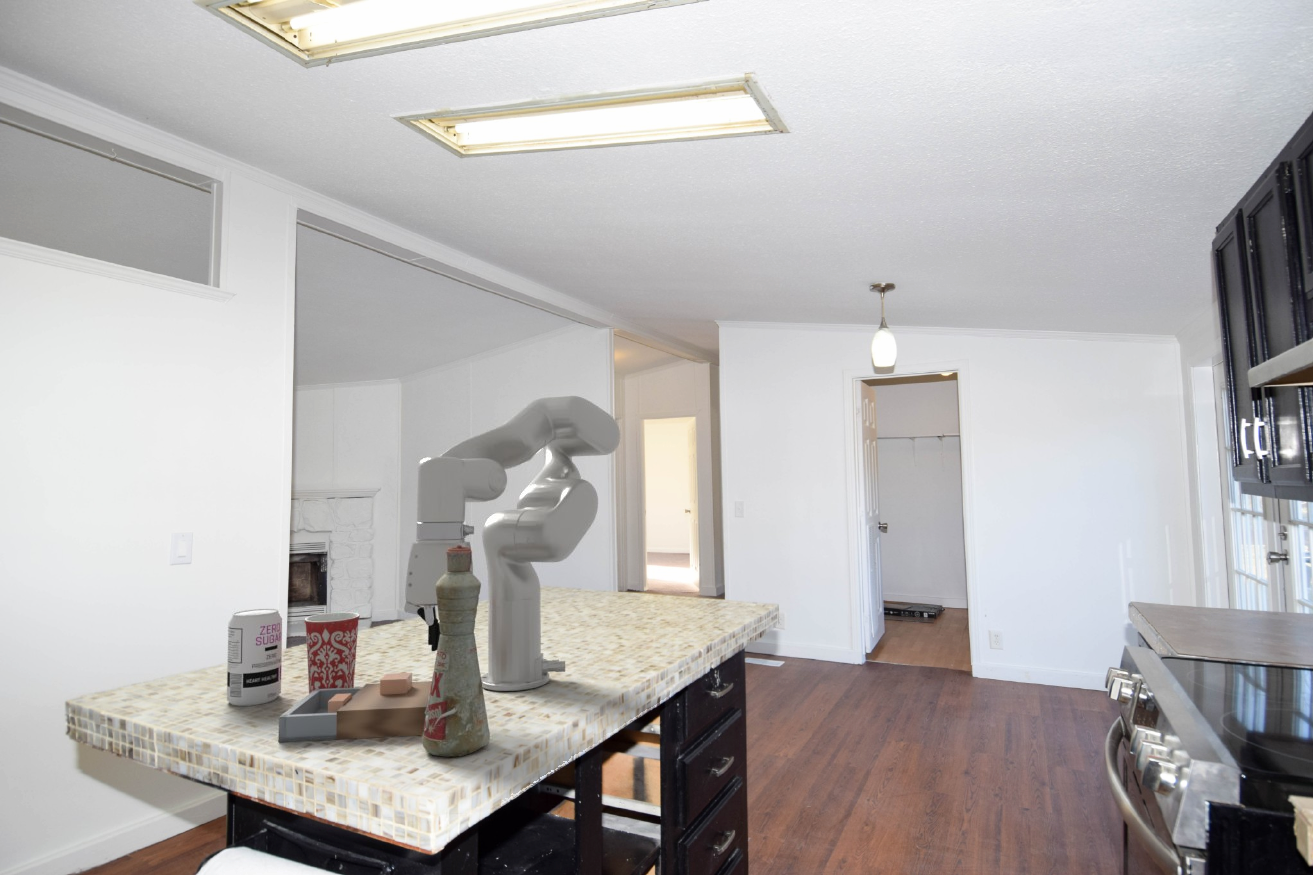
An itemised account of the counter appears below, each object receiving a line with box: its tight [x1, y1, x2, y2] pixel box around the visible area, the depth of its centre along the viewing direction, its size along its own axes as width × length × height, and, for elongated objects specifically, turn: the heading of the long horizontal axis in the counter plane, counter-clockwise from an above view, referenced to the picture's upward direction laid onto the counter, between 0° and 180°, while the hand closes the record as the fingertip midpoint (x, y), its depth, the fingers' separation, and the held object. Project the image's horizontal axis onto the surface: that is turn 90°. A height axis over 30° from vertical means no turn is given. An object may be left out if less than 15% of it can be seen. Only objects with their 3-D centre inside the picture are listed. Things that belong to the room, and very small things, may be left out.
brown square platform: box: [335, 680, 432, 740], centre depth 116 cm, size 13×15×4 cm
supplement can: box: [226, 608, 283, 707], centre depth 130 cm, size 8×8×15 cm
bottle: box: [421, 544, 491, 758], centre depth 104 cm, size 9×9×28 cm
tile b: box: [379, 672, 413, 695], centre depth 119 cm, size 4×4×2 cm
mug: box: [304, 611, 361, 695], centre depth 135 cm, size 13×9×14 cm
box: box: [277, 686, 363, 743], centre depth 115 cm, size 8×15×4 cm, turn 6°
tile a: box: [328, 693, 351, 713], centre depth 113 cm, size 4×4×2 cm
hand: (438, 649), depth 119 cm, fingers closed
